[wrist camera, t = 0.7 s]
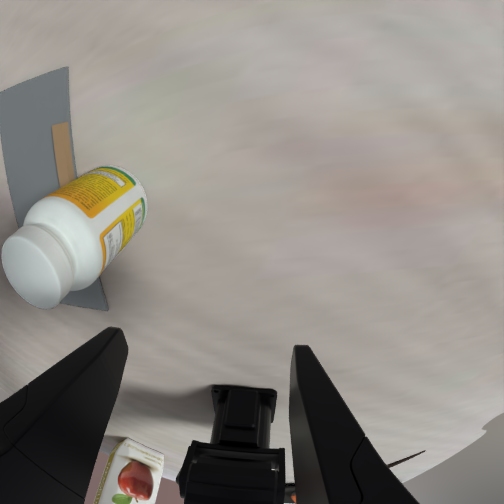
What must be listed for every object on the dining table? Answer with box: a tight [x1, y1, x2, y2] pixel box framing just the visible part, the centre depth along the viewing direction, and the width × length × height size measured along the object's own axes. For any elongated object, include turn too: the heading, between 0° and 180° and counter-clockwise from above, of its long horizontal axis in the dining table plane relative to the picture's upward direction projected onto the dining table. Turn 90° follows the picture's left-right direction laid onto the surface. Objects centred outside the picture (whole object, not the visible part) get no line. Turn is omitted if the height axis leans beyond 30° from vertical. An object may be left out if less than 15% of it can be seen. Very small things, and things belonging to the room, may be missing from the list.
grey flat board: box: [0, 67, 109, 311], centre depth 19 cm, size 20×8×1 cm, turn 179°
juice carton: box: [93, 438, 164, 504], centre depth 33 cm, size 8×9×19 cm
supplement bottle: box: [1, 165, 147, 309], centre depth 15 cm, size 5×5×10 cm
